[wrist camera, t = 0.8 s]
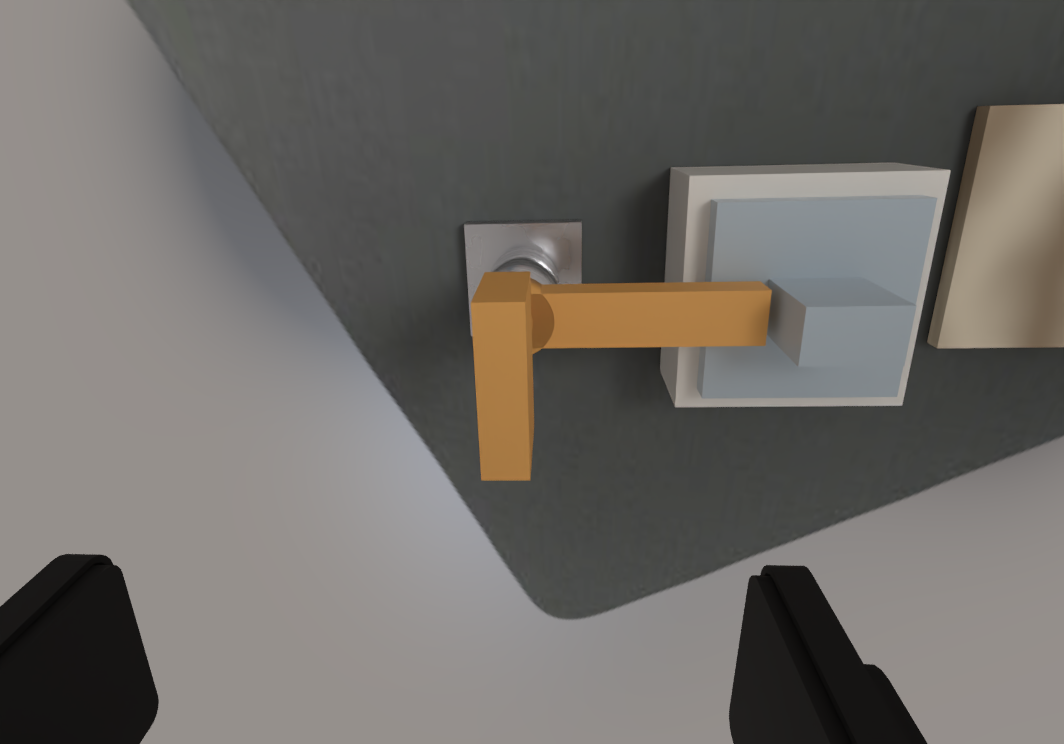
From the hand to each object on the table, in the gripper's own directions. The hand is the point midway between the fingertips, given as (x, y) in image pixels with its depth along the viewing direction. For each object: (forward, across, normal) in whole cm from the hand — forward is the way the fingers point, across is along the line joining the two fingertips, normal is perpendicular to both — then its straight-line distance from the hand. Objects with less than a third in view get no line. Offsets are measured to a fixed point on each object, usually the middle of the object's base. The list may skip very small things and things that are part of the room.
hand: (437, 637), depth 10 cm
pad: (+26, -28, -2) cm, 39 cm away
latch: (+20, -5, +1) cm, 21 cm away
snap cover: (+22, -13, 0) cm, 25 cm away
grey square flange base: (+27, 0, +1) cm, 27 cm away
